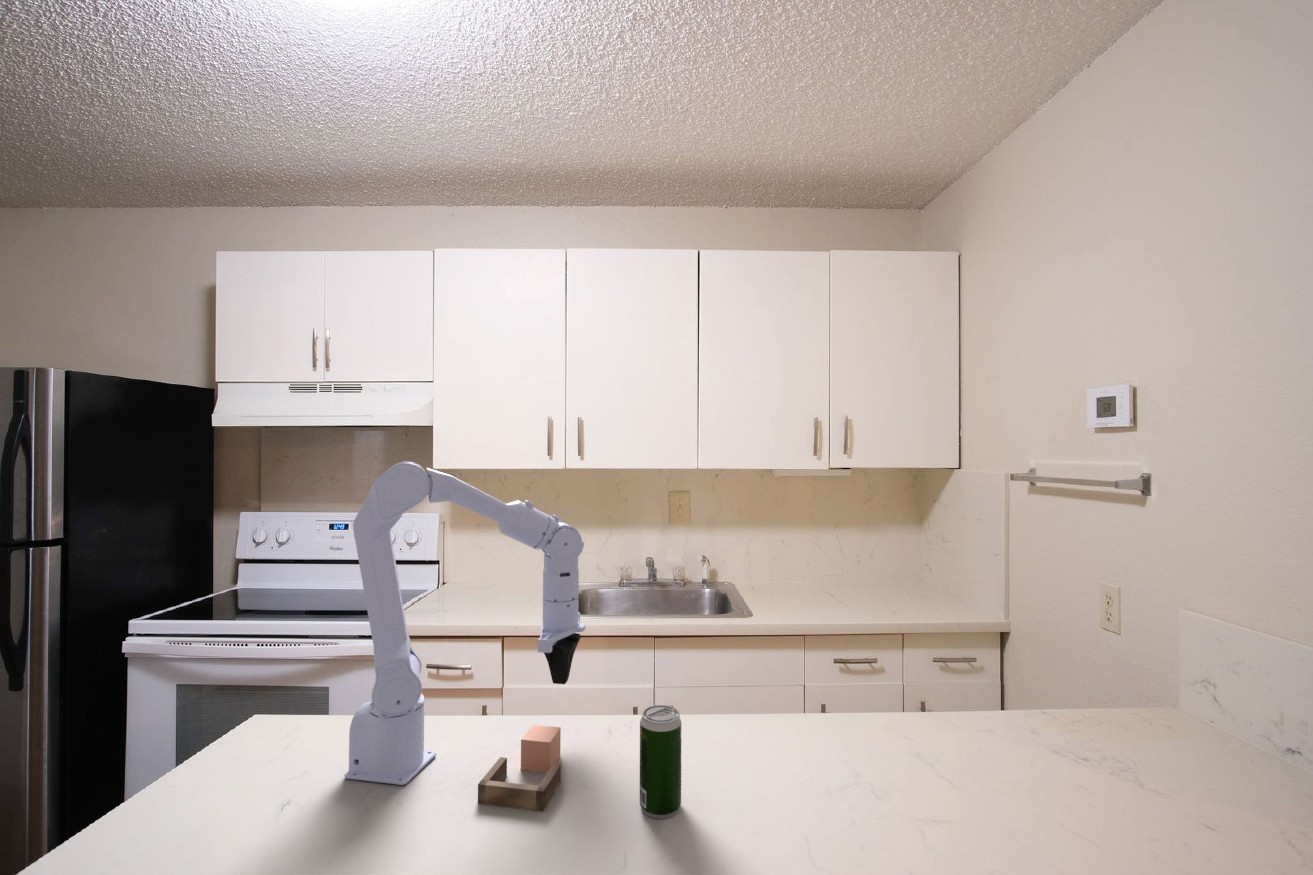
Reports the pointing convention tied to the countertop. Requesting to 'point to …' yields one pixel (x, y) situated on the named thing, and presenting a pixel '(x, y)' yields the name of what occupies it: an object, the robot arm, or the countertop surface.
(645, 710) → the beer can
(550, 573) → the robot arm
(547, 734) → the terracotta block
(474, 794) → the countertop surface
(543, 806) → the walnut bay
